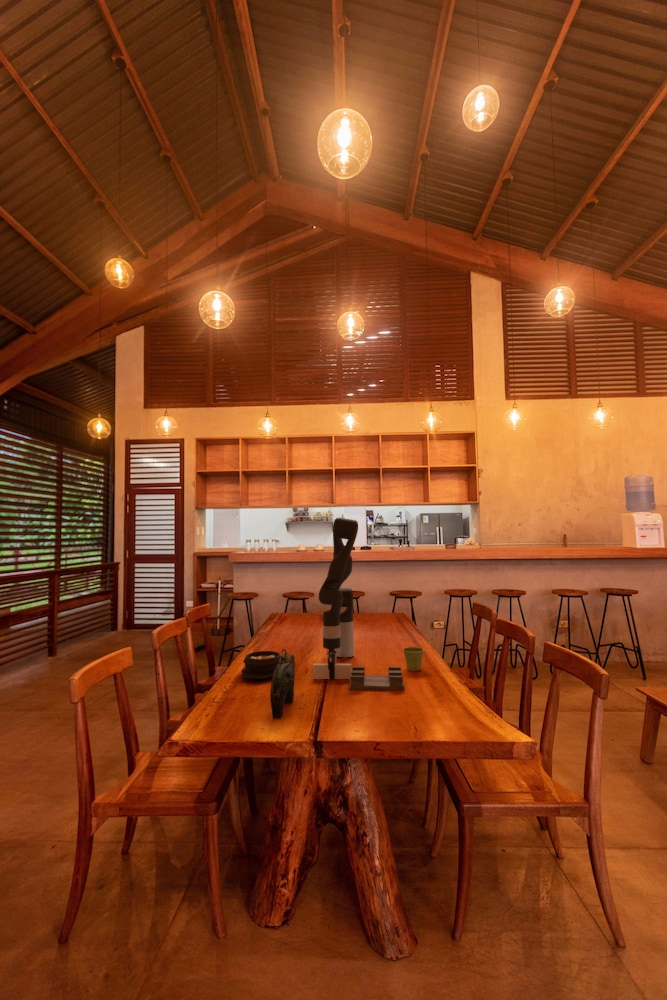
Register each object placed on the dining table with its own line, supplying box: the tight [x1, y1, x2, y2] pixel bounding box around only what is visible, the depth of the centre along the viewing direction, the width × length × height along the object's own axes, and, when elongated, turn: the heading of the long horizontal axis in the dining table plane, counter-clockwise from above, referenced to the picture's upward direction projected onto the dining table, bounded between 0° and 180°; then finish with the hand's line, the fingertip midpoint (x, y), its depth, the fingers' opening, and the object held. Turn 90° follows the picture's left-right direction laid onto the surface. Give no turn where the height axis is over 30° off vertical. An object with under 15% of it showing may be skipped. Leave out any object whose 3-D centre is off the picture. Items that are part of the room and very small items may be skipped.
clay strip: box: [312, 663, 352, 680], centre depth 199 cm, size 2×16×6 cm, turn 85°
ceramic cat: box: [269, 648, 296, 720], centre depth 166 cm, size 20×6×20 cm, turn 171°
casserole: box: [240, 650, 281, 680], centre depth 207 cm, size 25×19×8 cm
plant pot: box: [402, 646, 425, 672], centre depth 210 cm, size 9×9×9 cm
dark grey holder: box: [349, 666, 405, 691], centre depth 190 cm, size 14×21×5 cm, turn 85°
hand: (332, 677), depth 198 cm, fingers closed on clay strip, 2 cm apart
